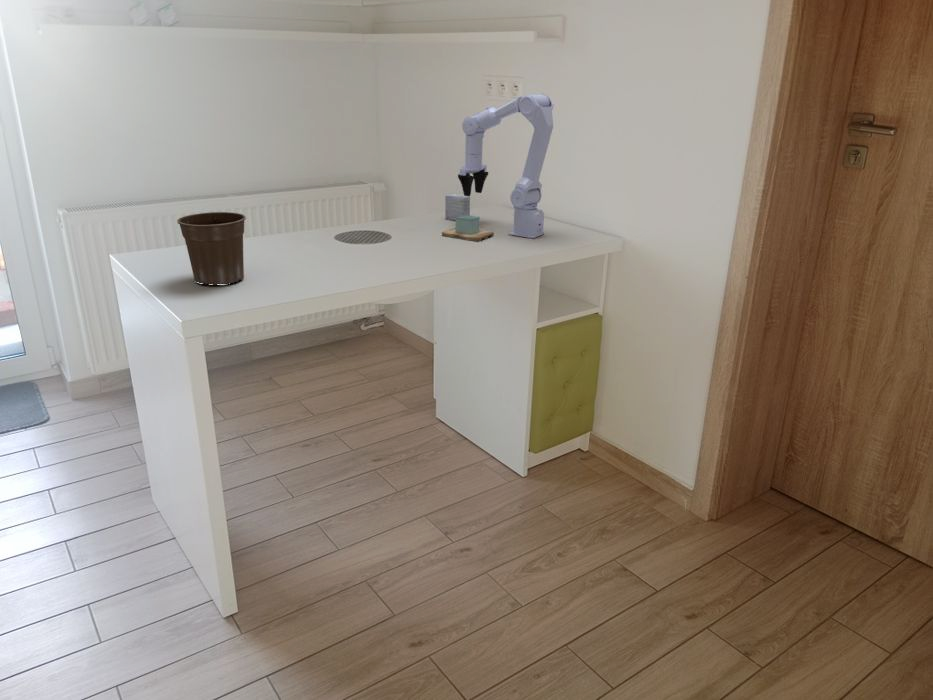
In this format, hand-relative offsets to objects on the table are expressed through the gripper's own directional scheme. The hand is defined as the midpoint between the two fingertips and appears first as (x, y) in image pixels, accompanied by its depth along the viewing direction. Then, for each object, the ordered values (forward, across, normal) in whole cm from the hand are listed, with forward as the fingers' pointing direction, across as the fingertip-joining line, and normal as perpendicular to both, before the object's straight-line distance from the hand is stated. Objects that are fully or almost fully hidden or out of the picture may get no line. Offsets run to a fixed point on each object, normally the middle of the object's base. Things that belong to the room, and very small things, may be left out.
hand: (472, 194), depth 245 cm
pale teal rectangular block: (+9, +16, +8) cm, 20 cm away
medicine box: (+11, -3, -8) cm, 14 cm away
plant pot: (+11, +95, -19) cm, 97 cm away
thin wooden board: (+10, +16, +8) cm, 21 cm away
